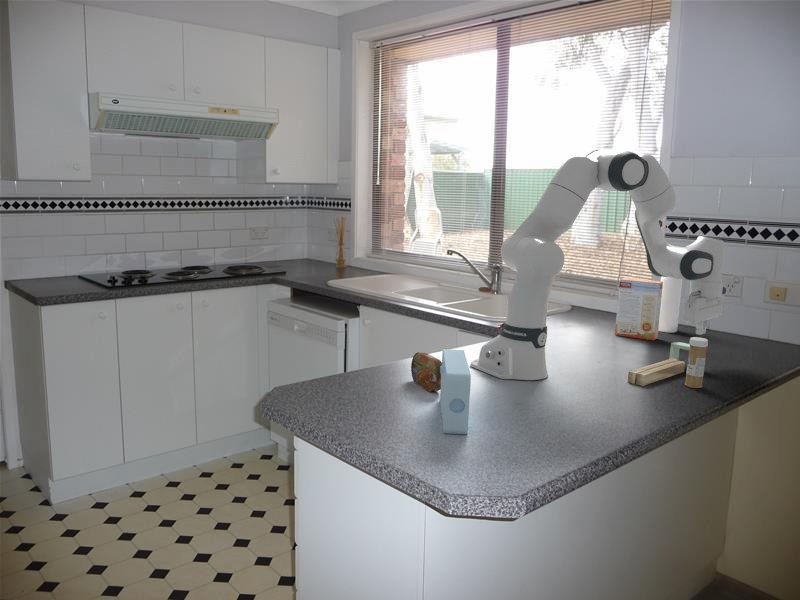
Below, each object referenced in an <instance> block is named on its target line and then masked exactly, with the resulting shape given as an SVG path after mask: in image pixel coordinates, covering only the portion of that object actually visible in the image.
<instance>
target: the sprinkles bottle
mask: <svg viewBox="0 0 800 600" xmlns="http://www.w3.org/2000/svg"><path fill="white" fill-rule="evenodd" d="M688 344H690V350H688V359H687V364H686V365H687V367H686V375H685V382H684V385H685V386H686V387H687V388H692V389H701V388H703V381H704V380H703V378H704V373H705V367H706V361H707V360H706V359H707V358H706V357H707V356H706V355H707V349H708V346H709V340H708V339H707V338H705V337H701V336H699V337H698V336H693V337H690V338H689V343H688Z"/></svg>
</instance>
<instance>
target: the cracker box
mask: <svg viewBox="0 0 800 600" xmlns="http://www.w3.org/2000/svg"><path fill="white" fill-rule="evenodd" d="M662 288H663V282H662V281H661V280H660V281H659V280H652V279H651V280H650V279H643V278H631V277H623V278H620V279H619V285H618V295H617V297H618V298H617V307H616V309H617V310H616V318H615V329H614V335H615V336H619V337H626V338H627V337H628V338H635V339H640V340H641V339H642V340H647V341H655V340H656V339H658V337H659V331H658V328H659V318H660V308H661V298H662Z"/></svg>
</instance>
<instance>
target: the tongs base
mask: <svg viewBox="0 0 800 600" xmlns="http://www.w3.org/2000/svg"><path fill="white" fill-rule="evenodd" d="M675 361H683V359H682V358H678V359H675V358H671V359H669V358H668V359H665V360H661V361H659V362H655V363H652V364H649V365H645V366H642V367H639V368H637V369H632V370H630V371H628V375H627V383H630V384H634V385H636V382H637V374H638V373H641V372H644V371H647V370H650V369H653V368H656V367H660V366H663V365H666V364H669V363H672V362H675ZM683 362H684V361H683Z"/></svg>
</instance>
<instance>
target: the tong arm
mask: <svg viewBox="0 0 800 600" xmlns="http://www.w3.org/2000/svg"><path fill="white" fill-rule="evenodd" d="M685 365H686V362H685V361H675V362H672V363H669V364H666V365H663V366H660V367H656V368H653V369H650V370H647V371H644V372H641V373H638V374H637V382H636V383H635V385H639V386H643V387H644V386H647V385H650V384H652V383H656V382H659V381H661V380H665V379H667V378H670V377H672V376H673V377H674V376H676V375H679V374H682V373H684V372H685Z"/></svg>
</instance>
